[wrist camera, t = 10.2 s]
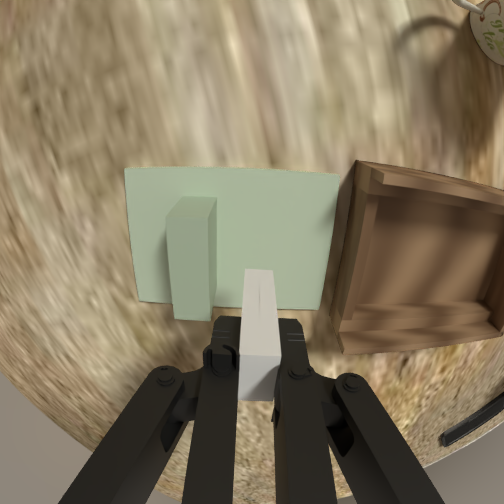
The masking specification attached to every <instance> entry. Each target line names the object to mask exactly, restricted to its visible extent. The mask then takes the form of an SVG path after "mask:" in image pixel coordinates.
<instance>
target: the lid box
mask: <svg viewBox="0 0 504 504" xmlns="http://www.w3.org/2000/svg"><path fill="white" fill-rule="evenodd" d="M330 318H331V321H332V324H333V327H334V330H335V333H336V336H337V339H338V342H339V345H340V348H341V351H342V354H343V355H352V354H369V353H384V352H396V351H407V350H416V349H425V348H433V347H441V346H448V345H455V344H462V343H468V342H474V341H480V340H486V339H491V338H496V337H501V336H502V335H503V334H504V190H501V189H497V188H494V187H490V186H486V185H482V184H478V183H474V182H470V181H466V180H462V179H458V178H454V177H449V176H445V175H440V174H435V173H430V172H425V171H420V170H415V169H409V168H404V167H398V166H392V165H386V164H379V163H373V162H366V161H359V160H356V164H355V173H354V181H353V188H352V196H351V203H350V209H349V216H348V222H347V228H346V234H345V240H344V246H343V251H342V257H341V262H340V267H339V272H338V277H337V282H336V287H335V292H334V297H333V301H332V306H331V310H330Z"/></svg>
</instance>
